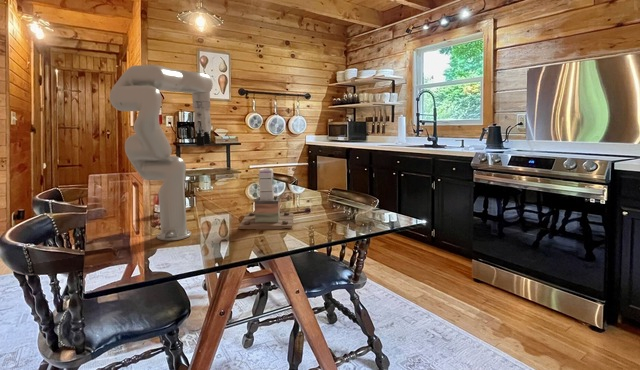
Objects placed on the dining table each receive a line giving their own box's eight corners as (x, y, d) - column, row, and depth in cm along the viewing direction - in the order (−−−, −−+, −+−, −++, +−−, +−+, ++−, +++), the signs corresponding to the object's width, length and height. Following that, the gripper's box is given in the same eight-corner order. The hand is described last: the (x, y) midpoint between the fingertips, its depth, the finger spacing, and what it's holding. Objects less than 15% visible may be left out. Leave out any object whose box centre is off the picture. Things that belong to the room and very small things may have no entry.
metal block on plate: (292, 228, 165) (291, 203, 163) (239, 229, 164) (238, 204, 162) (293, 216, 187) (293, 193, 185) (246, 216, 186) (245, 194, 184)
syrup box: (273, 202, 171) (272, 169, 168) (259, 203, 171) (258, 169, 168) (274, 200, 177) (273, 168, 174) (260, 200, 176) (260, 168, 174)
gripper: (204, 105, 165) (206, 146, 168) (215, 106, 182) (216, 143, 185) (186, 105, 165) (189, 146, 168) (198, 106, 182) (200, 143, 185)
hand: (203, 144), depth 177 cm, fingers open, 9 cm apart
